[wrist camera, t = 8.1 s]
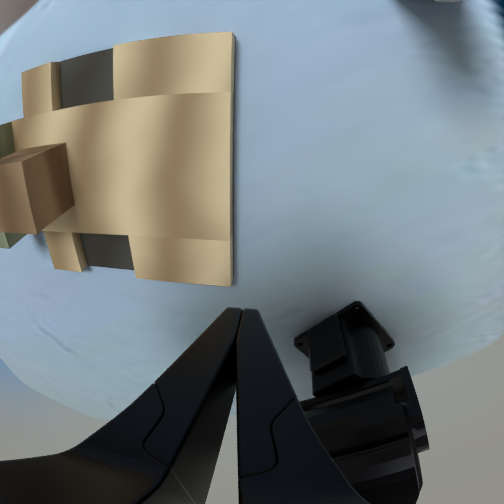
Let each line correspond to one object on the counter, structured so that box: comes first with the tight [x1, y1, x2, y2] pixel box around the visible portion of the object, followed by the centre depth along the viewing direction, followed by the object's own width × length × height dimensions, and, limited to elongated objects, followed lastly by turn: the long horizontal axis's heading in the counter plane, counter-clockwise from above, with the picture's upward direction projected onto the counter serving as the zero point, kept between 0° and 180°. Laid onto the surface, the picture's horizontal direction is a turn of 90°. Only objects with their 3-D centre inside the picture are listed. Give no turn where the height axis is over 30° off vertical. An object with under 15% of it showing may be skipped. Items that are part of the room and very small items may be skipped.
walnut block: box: [0, 142, 75, 234], centre depth 16 cm, size 4×4×4 cm
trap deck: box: [0, 32, 235, 287], centre depth 17 cm, size 18×16×4 cm
